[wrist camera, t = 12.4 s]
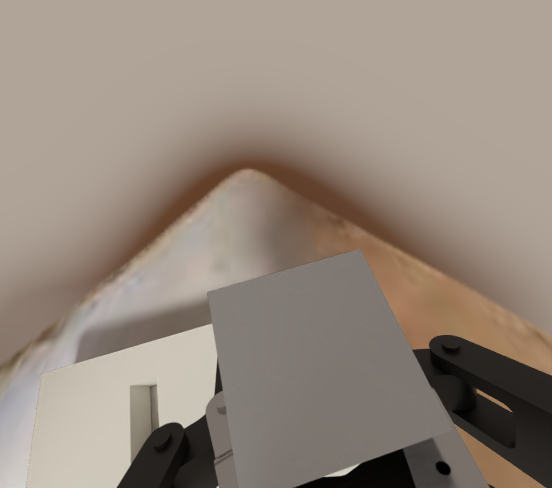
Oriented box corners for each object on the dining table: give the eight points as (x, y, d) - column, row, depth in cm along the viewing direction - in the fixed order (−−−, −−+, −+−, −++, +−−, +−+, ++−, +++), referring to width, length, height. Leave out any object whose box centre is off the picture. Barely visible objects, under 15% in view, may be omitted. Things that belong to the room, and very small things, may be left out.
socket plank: (54, 572, 16) (9, 605, 14) (71, 376, 22) (41, 373, 19) (419, 440, 19) (439, 447, 16) (352, 292, 24) (360, 279, 21)
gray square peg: (279, 428, 17) (241, 506, 5) (262, 361, 19) (206, 292, 7) (339, 408, 17) (452, 429, 5) (317, 344, 19) (360, 248, 7)
